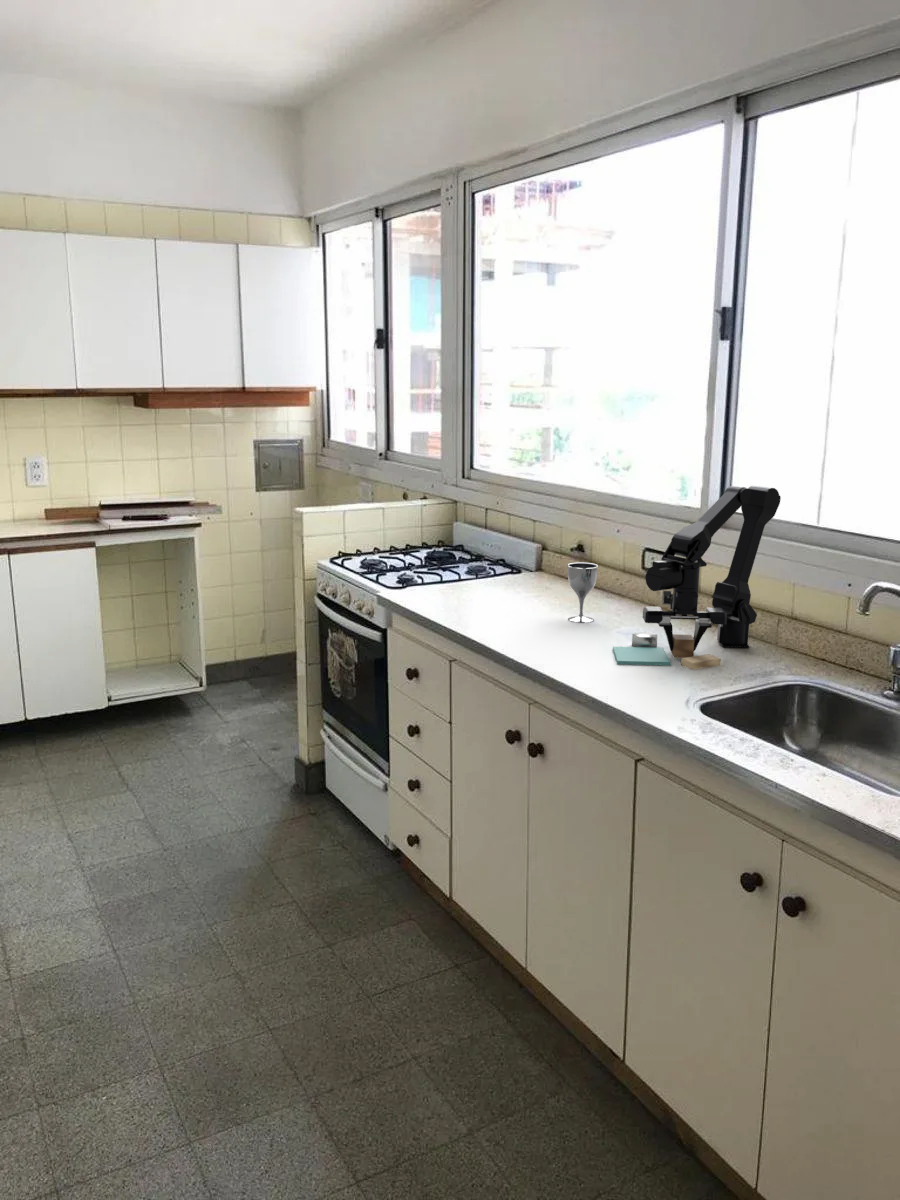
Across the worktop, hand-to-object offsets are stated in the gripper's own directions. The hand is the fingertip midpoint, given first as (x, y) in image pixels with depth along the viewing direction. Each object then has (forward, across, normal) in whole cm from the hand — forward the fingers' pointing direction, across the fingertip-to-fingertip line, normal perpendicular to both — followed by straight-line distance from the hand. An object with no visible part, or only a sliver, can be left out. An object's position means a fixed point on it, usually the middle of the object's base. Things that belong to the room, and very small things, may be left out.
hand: (682, 650), depth 231 cm
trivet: (+1, +10, +3) cm, 10 cm away
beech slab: (+2, -3, +8) cm, 9 cm away
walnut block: (+1, 0, 0) cm, 1 cm away
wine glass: (+1, +22, -32) cm, 39 cm away
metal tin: (+1, +8, -7) cm, 11 cm away
